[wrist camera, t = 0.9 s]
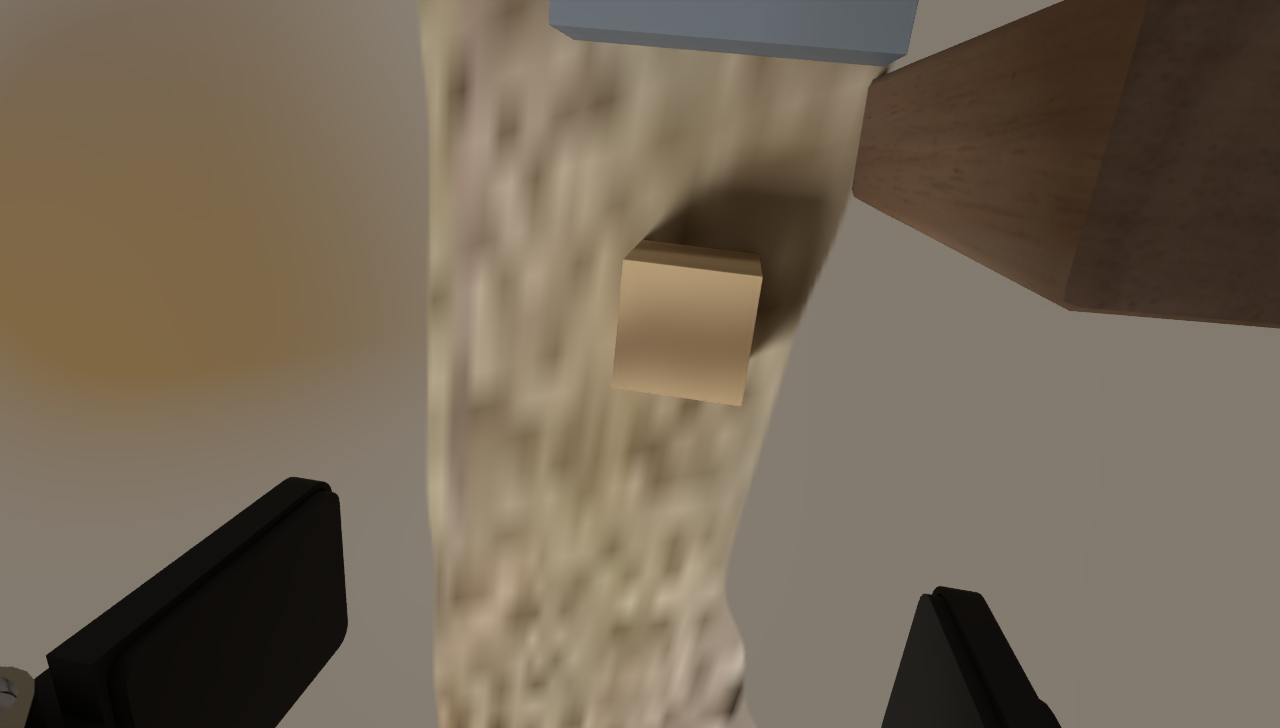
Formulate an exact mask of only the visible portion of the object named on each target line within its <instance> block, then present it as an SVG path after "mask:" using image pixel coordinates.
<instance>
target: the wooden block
mask: <svg viewBox="0 0 1280 728" xmlns="http://www.w3.org/2000/svg"><path fill="white" fill-rule="evenodd" d="M852 191H853V195H854V197H856V198H858V199H859V200H861V201H863V202H865V203H866V204H868V205H870V206H872V207H874V208H876V209H877V210H879V211H881V212H883V213H885V214H887V215H889V216H891V217H893V218H895V219H897V220H899V221H901V222H903V223H904V224H906V225H908V226H910V227H912V228H914V229H916V230H918V231H920V232H922V233H923V234H925V235H927V236H929V237H931V238H933V239H935V240H937V241H939V242H941V243H942V244H944V245H946V246H948V247H950V248H952V249H954V250H956V251H958V252H959V253H961V254H963V255H965V256H967V257H969V258H971V259H973V260H974V261H976V262H978V263H980V264H982V265H984V266H986V267H988V268H989V269H991V270H993V271H995V272H997V273H999V274H1001V275H1003V276H1005V277H1007V278H1008V279H1010V280H1013V281H1014V282H1016V283H1018V284H1020V285H1022V286H1024V287H1025V288H1027V289H1029V290H1031V291H1033V292H1035V293H1037V294H1039V295H1040V296H1042V297H1044V298H1046V299H1048V300H1050V301H1052V302H1054V303H1056V304H1058V305H1059V306H1062V307H1063V308H1065V309H1067V310H1069V311H1079V312H1091V313H1103V314H1104V313H1105V314H1115V315H1128V316H1139V317H1152V318H1163V319H1174V320H1187V321H1198V322H1210V323H1222V324H1235V325H1246V326H1258V327H1269V328H1280V0H1064V1H1061V2H1059V3H1057V4H1054V5H1052V6H1049V7H1047V8H1044V9H1042V10H1040V11H1037V12H1035V13H1032V14H1030V15H1028V16H1025V17H1023V18H1020V19H1018V20H1016V21H1013V22H1011V23H1008V24H1006V25H1004V26H1001V27H999V28H996V29H994V30H992V31H990V32H987V33H984V34H982V35H980V36H977V37H975V38H972V39H970V40H968V41H965V42H963V43H960V44H958V45H955V46H953V47H951V48H948V49H946V50H943V51H941V52H939V53H936V54H934V55H931V56H929V57H926V58H924V59H921V60H919V61H916V62H914V63H911V64H909V65H907V66H904V67H902V68H900V69H898V70H896V71H893V72H891V73H888V74H886V75H883V76H881V77H878V78H876V79H874V80H873V81H872V83H871V84H870V86H869V88H868V94H867V100H866V107H865V113H864V119H863V125H862V131H861V137H860V143H859V150H858V156H857V162H856V168H855V174H854V180H853V186H852Z"/></svg>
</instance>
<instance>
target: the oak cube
mask: <svg viewBox="0 0 1280 728" xmlns="http://www.w3.org/2000/svg"><path fill="white" fill-rule="evenodd" d="M762 279H763V275H762V270H761V264H760V259H759V254H757V253H749V252H741V251H732V250H724V249H716V248H707V247H699V246H691V245H683V244H674V243H666V242H658V241H650V240H642V241H641V242H640V243H639V244H638V245H637V246H636V247H635V248H634V249H633V250H632V251H631V252H630V253H629V254H628V255H627V256H626V257H625V258H624V259H623V268H622V280H621V291H620V302H619V314H618V325H617V336H616V348H615V359H614V371H613V382H612V388H619V389H625V390H632V391H639V392H646V393H653V394H660V395H667V396H673V397H680V398H687V399H694V400H701V401H708V402H715V403H721V404H728V405H735V406H742V400H743V394H744V388H745V381H746V375H747V369H748V363H749V357H750V351H751V345H752V339H753V333H754V327H755V321H756V315H757V309H758V303H759V297H760V291H761V285H762Z"/></svg>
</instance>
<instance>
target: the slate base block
mask: <svg viewBox="0 0 1280 728" xmlns="http://www.w3.org/2000/svg"><path fill="white" fill-rule="evenodd" d="M917 5H918V0H550V10H549V25H551V26H552V27H554V28H556V29H557V30H559V31H560V32H562V33H564V34H565V35H567V36H569V37H570V38H572V39H574V40H583V41H594V42H606V43H618V44H629V45H641V46H652V47H664V48H675V49H687V50H699V51H710V52H722V53H733V54H745V55H756V56H768V57H780V58H791V59H803V60H814V61H826V62H837V63H849V64H861V65H872V66H885V65H887V64H889V63H891V62H893V61H895V60H897V59H899V58H901V57H903V56H905V55H906V54H907V51H908V46H909V42H910V37H911V33H912V27H913V23H914V19H915V14H916V9H917Z"/></svg>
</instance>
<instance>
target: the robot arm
mask: <svg viewBox="0 0 1280 728" xmlns="http://www.w3.org/2000/svg"><path fill="white" fill-rule="evenodd" d="M347 626H348V617H347V603H346V589H345V574H344V559H343V544H342V531H341V516H340V502H339V497H338V495H337V494H336V493H333V492H332V490H331V487H330V486H329V484H327V483H326V482H322V481H316V480H310V479H304V478H299V477H289V478H287V479H286V480H284V481H283V482H281V483H280V484H279V485H277V486H276V487H274V488H273V489H272V490H270V491H269V492H268V493H266V494H265V495H263V496H262V497H261V498H260V499H258V500H257V501H255V502H254V503H253V504H251V505H250V506H249V507H247V508H246V509H245V510H243V511H242V512H240V513H239V514H238V515H236V516H235V517H234V518H232V519H231V520H230V521H228V522H227V523H226V524H224V525H223V526H221V527H220V528H219V529H217V530H216V531H214V532H213V533H212V534H211V535H209V536H208V537H206V538H205V539H204V540H202V541H201V542H200V543H198V544H197V545H196V546H194V547H193V548H191V549H190V550H189V551H187V552H186V553H185V554H183V555H182V556H181V557H179V558H178V559H177V560H175V561H174V562H172V563H171V564H170V565H168V566H167V567H166V568H164V569H163V570H161V571H160V572H159V573H157V574H156V575H155V576H153V577H152V578H151V579H149V580H148V581H147V582H145V583H144V584H142V585H141V586H140V587H138V588H137V589H136V590H134V591H133V592H131V593H130V594H129V595H127V596H126V597H125V598H123V599H122V600H121V601H119V602H118V603H117V604H115V605H114V606H112V607H111V608H110V609H108V610H107V611H106V612H104V613H103V614H102V615H100V616H99V617H98V618H96V619H95V620H93V621H92V622H91V623H89V624H88V625H87V626H85V627H84V628H82V629H81V630H80V631H78V632H77V633H76V634H75V635H73V636H72V637H70V638H69V639H67V640H66V641H65V642H63V643H62V644H61V645H59V646H58V647H57V648H55V649H54V650H53V651H51V652H50V653H48V654H47V655H46V658H47V662H48V665H49V668H48V669H47V670H46V671H44V672H43V673H42V674H40V675H39V676H38V677H36V678H35V679H33V678H32V677H31V676H30V674H29V673H28V672H27V671H24V670H21V669H18V668H14V667H0V728H275V727H276V726H277V725H278V724H279V722H280V721H281V720H282V719H283V717H284V716H285V715H286V713H287V712H288V711H289V710H290V709H291V707H292V706H293V705H294V703H295V702H296V701H297V700H298V698H299V697H300V696H301V695H302V693H303V692H304V691H305V690H306V688H307V687H308V686H309V685H310V683H311V682H312V681H313V680H314V678H315V677H316V676H317V674H318V673H319V672H320V671H321V670H322V668H323V667H324V666H325V665H326V663H327V662H328V661H329V660H330V658H331V657H332V656H333V655H334V653H335V652H336V651H337V650H338V648H339V647H340V645H341V644H342V642H343V640H344V637H345V635H346V632H347ZM881 728H1061V726H1060V724H1059V723H1058V721H1057V719H1056V717H1055V715H1054V714H1053V712H1052V711H1051V709H1050V708H1049V707H1048V705H1047V704H1046V703H1044V702H1043V701H1042V700H1040V699H1039V698H1038V696H1037V694H1036V692H1035V691H1034V689H1033V687H1032V685H1031V683H1030V681H1029V680H1028V678H1027V676H1026V674H1025V672H1024V671H1023V669H1022V667H1021V665H1020V663H1019V661H1018V660H1017V658H1016V656H1015V655H1014V652H1013V651H1012V649H1011V647H1010V645H1009V643H1008V641H1007V639H1006V638H1005V636H1004V634H1003V632H1002V630H1001V628H1000V627H999V625H998V623H997V621H996V620H995V618H994V616H993V614H992V612H991V610H990V608H989V607H988V605H987V603H986V601H985V599H984V598H983V597H982V595H981V594H979V593H977V592H972V591H966V590H960V589H954V588H948V587H942V586H939V587H936V589H935V590H934V591H933V593H932V595H930V594H923V595H922V596H921V597H920V600H919V602H918V605H917V609H916V612H915V616H914V619H913V622H912V626H911V629H910V632H909V636H908V639H907V642H906V646H905V649H904V652H903V656H902V659H901V662H900V666H899V669H898V672H897V676H896V680H895V683H894V686H893V689H892V693H891V696H890V699H889V703H888V706H887V709H886V713H885V716H884V719H883V723H882V727H881Z"/></svg>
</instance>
